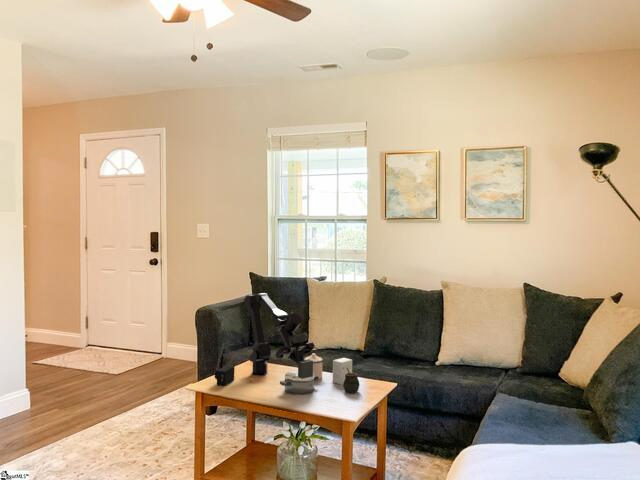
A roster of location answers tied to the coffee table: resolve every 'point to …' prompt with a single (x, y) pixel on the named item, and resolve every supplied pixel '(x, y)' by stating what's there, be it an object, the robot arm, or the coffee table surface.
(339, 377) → the small box
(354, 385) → the mate gourd
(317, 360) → the teacup with lid
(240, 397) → the coffee table surface
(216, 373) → the digital camera
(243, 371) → the coffee table surface
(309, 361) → the lid
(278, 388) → the coffee table surface
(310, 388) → the pot
